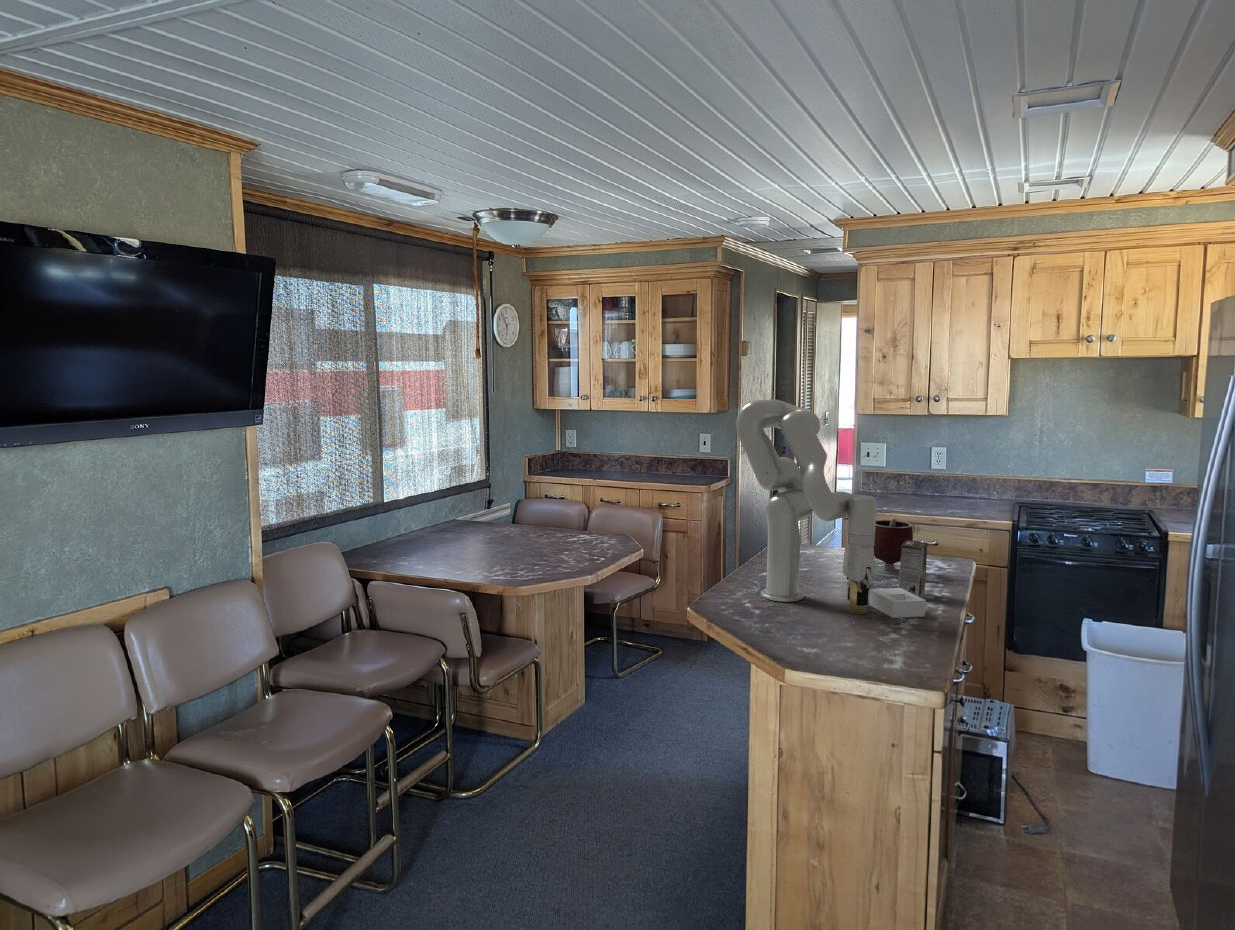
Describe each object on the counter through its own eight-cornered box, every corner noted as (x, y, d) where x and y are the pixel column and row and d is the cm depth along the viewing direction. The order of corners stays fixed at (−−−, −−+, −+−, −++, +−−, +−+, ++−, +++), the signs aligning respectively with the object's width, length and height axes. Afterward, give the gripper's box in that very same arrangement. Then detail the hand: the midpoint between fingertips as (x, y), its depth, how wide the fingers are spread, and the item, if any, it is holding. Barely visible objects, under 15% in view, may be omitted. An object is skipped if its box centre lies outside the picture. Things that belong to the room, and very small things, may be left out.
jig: (868, 604, 242) (869, 589, 242) (899, 602, 245) (900, 588, 244) (892, 617, 230) (893, 602, 229) (924, 616, 232) (925, 600, 231)
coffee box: (903, 590, 259) (906, 539, 257) (925, 593, 255) (928, 542, 253) (897, 597, 251) (900, 544, 249) (919, 600, 248) (922, 547, 246)
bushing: (846, 609, 237) (847, 578, 236) (860, 609, 238) (861, 578, 237) (853, 614, 233) (855, 582, 232) (867, 613, 234) (869, 582, 232)
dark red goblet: (867, 567, 288) (870, 510, 286) (909, 570, 284) (912, 512, 282) (868, 577, 273) (871, 518, 271) (912, 581, 270) (916, 520, 267)
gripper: (834, 533, 240) (831, 595, 242) (863, 546, 224) (859, 612, 226) (858, 533, 242) (855, 594, 244) (888, 545, 225) (885, 610, 227)
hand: (857, 602), depth 235 cm, fingers closed on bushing, 4 cm apart
